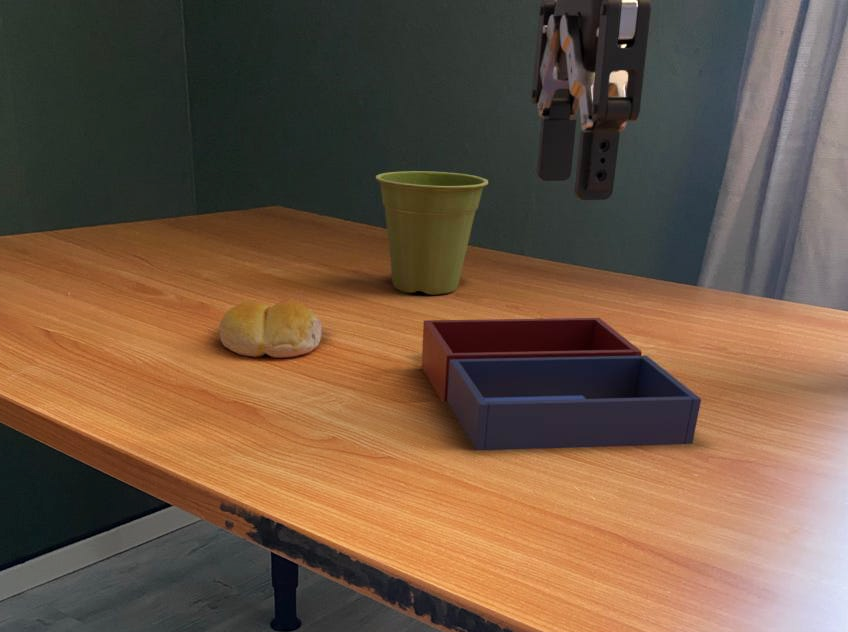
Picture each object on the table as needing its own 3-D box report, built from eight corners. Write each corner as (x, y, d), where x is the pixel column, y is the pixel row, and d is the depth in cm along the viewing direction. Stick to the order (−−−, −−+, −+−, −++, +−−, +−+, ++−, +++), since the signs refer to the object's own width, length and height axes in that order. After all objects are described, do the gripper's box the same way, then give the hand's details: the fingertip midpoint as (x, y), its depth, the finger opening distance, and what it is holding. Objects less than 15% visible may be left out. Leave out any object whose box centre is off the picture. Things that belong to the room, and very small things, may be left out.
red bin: (593, 364, 86) (599, 317, 84) (634, 402, 78) (642, 351, 76) (421, 367, 85) (423, 320, 83) (443, 407, 76) (446, 355, 74)
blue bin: (638, 406, 77) (647, 355, 75) (690, 455, 68) (701, 398, 66) (446, 411, 75) (449, 359, 73) (475, 462, 67) (479, 404, 65)
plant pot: (446, 306, 103) (453, 189, 97) (352, 290, 109) (353, 178, 103) (499, 286, 111) (508, 177, 106) (409, 272, 117) (413, 167, 111)
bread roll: (234, 332, 93) (232, 288, 91) (327, 338, 92) (327, 294, 90) (206, 356, 87) (203, 309, 84) (306, 363, 85) (306, 316, 83)
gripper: (720, -140, 50) (668, 206, 59) (624, -111, 62) (593, 173, 71) (576, -143, 49) (545, 208, 58) (507, -113, 61) (490, 175, 70)
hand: (571, 188), depth 64 cm, fingers open, 8 cm apart
